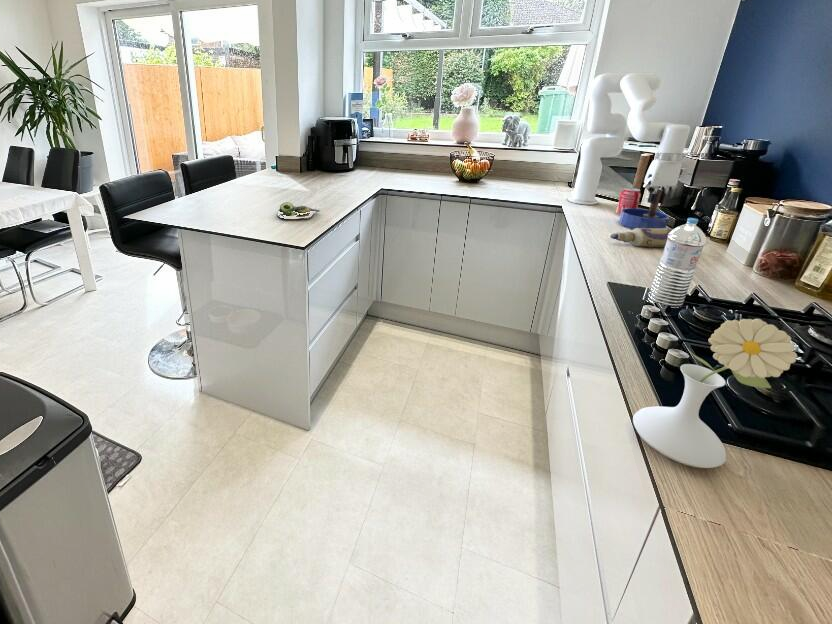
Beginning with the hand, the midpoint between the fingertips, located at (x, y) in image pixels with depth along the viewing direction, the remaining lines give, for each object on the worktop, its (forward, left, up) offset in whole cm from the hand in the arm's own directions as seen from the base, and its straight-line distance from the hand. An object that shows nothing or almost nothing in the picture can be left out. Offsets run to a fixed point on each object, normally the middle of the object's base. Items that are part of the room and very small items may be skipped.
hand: (654, 202), depth 161 cm
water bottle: (+67, -48, -10) cm, 83 cm away
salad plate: (-18, -148, -10) cm, 149 cm away
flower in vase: (+108, -78, -10) cm, 134 cm away
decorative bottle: (+21, -16, -10) cm, 28 cm away
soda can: (-15, +1, -10) cm, 18 cm away
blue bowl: (0, -3, -10) cm, 10 cm away
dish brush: (0, 0, -9) cm, 9 cm away
